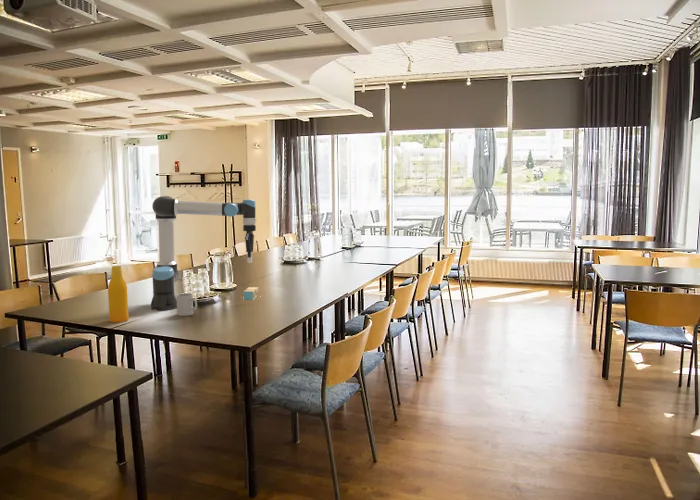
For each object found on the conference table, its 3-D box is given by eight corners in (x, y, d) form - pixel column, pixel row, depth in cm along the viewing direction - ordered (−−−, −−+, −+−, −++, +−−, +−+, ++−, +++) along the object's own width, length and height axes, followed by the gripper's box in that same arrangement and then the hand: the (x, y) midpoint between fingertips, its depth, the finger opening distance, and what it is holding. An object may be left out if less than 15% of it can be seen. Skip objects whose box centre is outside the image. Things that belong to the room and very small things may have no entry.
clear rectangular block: (252, 291, 317) (258, 287, 331) (243, 291, 318) (249, 287, 332) (252, 301, 318) (258, 296, 332) (243, 301, 318) (249, 296, 332)
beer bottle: (127, 322, 271) (124, 267, 267) (108, 323, 268) (105, 268, 264) (129, 317, 279) (127, 264, 276) (111, 319, 277) (108, 265, 273)
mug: (173, 315, 285) (173, 295, 284) (183, 311, 293) (182, 292, 292) (192, 317, 281) (191, 297, 280) (201, 313, 289) (201, 294, 288)
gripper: (252, 225, 313) (253, 264, 315) (258, 223, 326) (258, 261, 328) (240, 225, 313) (241, 263, 316) (246, 223, 326) (246, 260, 329)
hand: (249, 262), depth 322 cm, fingers closed
